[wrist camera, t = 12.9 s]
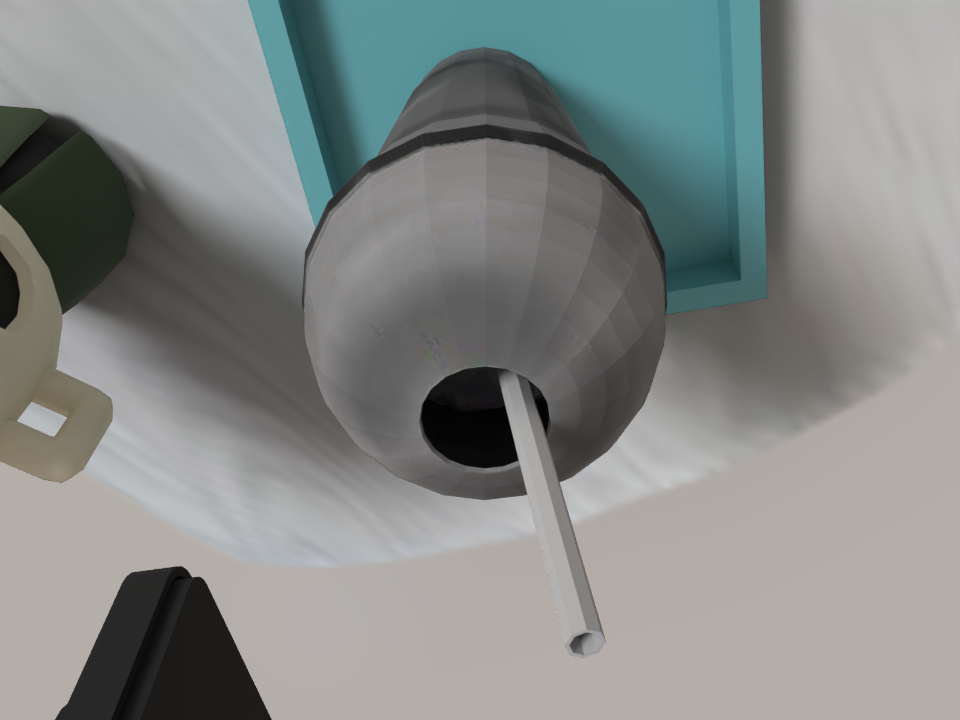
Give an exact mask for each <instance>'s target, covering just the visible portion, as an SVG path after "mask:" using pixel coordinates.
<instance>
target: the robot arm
mask: <svg viewBox="0 0 960 720" xmlns="http://www.w3.org/2000/svg"><path fill="white" fill-rule="evenodd" d="M55 720H271V717H270V715H269V713H268V711H267V709H266V707H265V705H264V703H263V701H262V699H261V697H260V695H259V692H258V690H257V688H256V686H255V684H254V682H253V680H252V678H251V676H250V674H249V672H248V669H247V668H246V665H245V663H244V661H243V659H242V657H241V655H240V653H239V651H238V649H237V646H236V644H235V642H234V640H233V638H232V636H231V634H230V632H229V630H228V628H227V626H226V624H225V621H224V619H223V617H222V615H221V613H220V611H219V609H218V607H217V605H216V603H215V600H214V599H213V596H212V594H211V592H210V590H209V588H208V586H207V584H206V582H205V581H204V579H202V578H201V577H193V578H192V577H191V575H190V574H189V572H188V571H187V570H186V569H185V568H183V567H181V566H179V567H170V568H162V569H155V570H147V571H140V572H132V573H131V574H129V575H128V576H127V577H126V578H125V580H124V582H123V583H122V585H121V587H120V589H119V591H118V594H117V596H116V598H115V600H114V602H113V605H112V607H111V609H110V611H109V614H108V616H107V618H106V620H105V622H104V624H103V627H102V629H101V631H100V633H99V636H98V638H97V640H96V642H95V644H94V647H93V649H92V651H91V654H90V655H89V658H88V660H87V662H86V664H85V667H84V669H83V671H82V673H81V675H80V677H79V680H78V682H77V684H76V686H75V688H74V691H73V693H72V695H71V698H70V700H69V702H68V704H67V705H66V706H65V707H63V708H62V709H61V711H60V712H59V714H58V716H57V717H56V719H55Z"/></svg>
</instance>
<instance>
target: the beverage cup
mask: <svg viewBox="0 0 960 720" xmlns="http://www.w3.org/2000/svg"><path fill="white" fill-rule="evenodd" d="M302 306H303V312H304V315H305V322H304V331H305V340H306V346H307V349H308V352H309V356H310V359H311V362H312V366H313V369H314V372H315V376H316V379H317V382H318V386H319V389H320V391H321V394H322V396H323V398H324V401H325V403H326V404H327V406H328V407H329V409H330V410H331V411H332V413H333V414H334V415H335V417H336V418H337V420H338V421H339V422H340V424H341V425H342V427H343V428H344V429H345V431H346V432H347V433H348V435H349V436H350V438H351V439H352V440H353V441H354V443H355V444H356V445H357V446H358V447H359V448H360V449H361V450H362V451H363V452H365V453H366V454H367V455H369V456H370V457H371V458H373V459H374V460H375V461H377V462H378V463H379V464H381V465H382V466H383V467H385V468H386V469H387V470H389V471H390V472H391V473H393V474H394V475H395V476H397V477H399V478H402V479H404V480H406V481H409V482H411V483H414V484H417V485H419V486H422V487H424V488H427V489H429V490H432V491H434V492H437V493H440V494H442V495H448V496H456V497H464V498H472V499H480V500H489V499H497V498H506V497H515V496H523V495H528V499H529V503H530V507H531V511H532V515H533V519H534V523H535V527H536V531H537V535H538V539H539V543H540V547H541V551H542V555H543V559H544V563H545V568H546V572H547V576H548V580H549V584H550V588H551V592H552V596H553V600H554V604H555V608H556V612H557V616H558V620H559V624H560V628H561V632H562V636H563V640H564V644H565V647H566V648H567V650H568V652H569V654H570V655H571V656H577V657H582V658H585V657H588V656H591V655H594V654H596V653H599V651H600V650H601V649H602V647H603V646H604V644H605V643H606V640H605V637H604V634H603V630H602V627H601V623H600V620H599V617H598V613H597V610H596V606H595V603H594V600H593V596H592V593H591V589H590V586H589V582H588V579H587V575H586V572H585V568H584V565H583V561H582V558H581V555H580V551H579V548H578V545H577V541H576V538H575V534H574V531H573V527H572V524H571V520H570V517H569V513H568V510H567V507H566V503H565V500H564V496H563V493H562V489H561V486H560V483H559V482H562V481H564V480H566V479H569V478H571V477H573V476H574V475H576V474H577V473H578V472H580V471H581V470H582V469H584V468H585V467H587V466H588V465H589V464H591V463H592V462H593V461H595V460H596V459H597V458H599V457H600V456H602V455H603V454H604V453H606V452H607V451H608V450H609V449H610V448H611V447H612V446H613V444H614V443H615V442H616V441H617V440H618V438H619V437H620V436H621V434H622V433H623V432H624V430H625V429H626V428H627V426H628V425H629V424H630V422H631V421H632V419H633V418H634V417H635V415H636V414H637V413H638V411H639V410H640V409H641V407H642V406H643V405H644V403H645V400H646V398H647V395H648V393H649V391H650V387H651V384H652V381H653V378H654V375H655V372H656V368H657V365H658V362H659V359H660V356H661V353H662V349H663V346H664V339H665V315H666V310H667V287H666V267H665V252H664V250H663V248H662V246H661V243H660V241H659V239H658V236H657V234H656V232H655V230H654V227H653V225H652V223H651V220H650V218H649V216H648V214H647V211H646V209H645V207H644V204H643V203H642V202H641V201H640V200H639V199H638V198H637V197H636V196H635V195H634V193H633V192H632V191H631V190H630V189H629V188H628V187H627V186H626V185H625V184H624V183H623V182H622V181H621V180H620V179H619V178H618V177H617V176H616V175H615V174H614V173H613V172H612V171H611V169H610V168H609V167H608V166H607V165H606V164H605V163H604V162H602V161H601V160H599V159H597V158H595V157H593V156H592V155H591V153H590V151H589V149H588V148H587V146H586V144H585V142H584V141H583V139H582V137H581V135H580V134H579V132H578V130H577V128H576V127H575V125H574V123H573V122H572V120H571V118H570V116H569V115H568V113H567V111H566V109H565V108H564V106H563V104H562V102H561V101H560V99H559V97H558V95H557V94H556V92H555V90H554V89H553V88H552V87H551V86H550V85H549V84H548V83H547V82H546V80H545V78H544V77H543V76H542V75H541V74H540V73H539V72H538V71H537V70H536V69H535V68H534V67H533V66H532V65H531V64H530V63H529V62H528V61H526V60H524V59H522V58H520V57H518V56H517V55H515V54H513V53H511V52H509V51H505V50H499V49H493V48H487V47H481V48H475V49H468V50H462V51H459V52H457V53H455V54H453V55H451V56H449V57H447V58H445V59H444V60H442V61H440V62H438V63H437V65H436V66H435V67H434V68H433V69H432V70H431V71H430V72H429V73H428V74H427V75H426V76H425V77H424V78H423V79H422V81H421V83H420V84H419V85H418V86H417V87H416V88H415V89H414V90H413V92H412V94H411V96H410V97H409V99H408V101H407V103H406V105H405V106H404V108H403V110H402V112H401V114H400V115H399V117H398V119H397V121H396V122H395V124H394V126H393V128H392V130H391V131H390V133H389V135H388V137H387V139H386V140H385V142H384V144H383V146H382V147H381V149H380V151H379V153H378V155H377V156H376V157H375V158H373V159H371V160H369V161H368V162H367V163H366V164H365V165H364V166H363V167H362V168H361V169H360V170H359V171H358V172H357V173H356V174H355V175H354V176H353V177H352V178H351V179H350V180H349V181H348V182H347V183H346V184H345V185H344V186H343V187H342V188H341V189H340V190H339V191H338V192H337V193H336V194H335V195H334V196H333V197H332V198H331V199H330V200H329V201H328V203H327V205H326V207H325V209H324V212H323V214H322V216H321V218H320V220H319V222H318V225H317V227H316V229H315V231H314V233H313V236H312V238H311V240H310V242H309V244H308V247H307V249H306V251H305V264H304V279H303V294H302Z"/></svg>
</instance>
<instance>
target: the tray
mask: <svg viewBox="0 0 960 720" xmlns="http://www.w3.org/2000/svg"><path fill="white" fill-rule="evenodd" d="M248 2H249V6H250V9H251V12H252V16H253V19H254V23H255V26H256V29H257V33H258V36H259V39H260V43H261V46H262V50H263V53H264V56H265V60H266V63H267V66H268V70H269V73H270V77H271V80H272V83H273V87H274V90H275V93H276V97H277V100H278V104H279V107H280V110H281V114H282V117H283V120H284V124H285V127H286V131H287V134H288V137H289V141H290V144H291V147H292V151H293V154H294V158H295V161H296V164H297V168H298V171H299V174H300V178H301V181H302V185H303V188H304V191H305V195H306V198H307V201H308V205H309V208H310V212H311V215H312V218H313V222H314V225H315V228H316V227H317V225H318V222H319V220H320V218H321V216H322V214H323V212H324V209H325V207H326V205H327V203H328V201H329V200H330V199H331V198H332V197H333V196H334V195H335V194H336V193H337V192H338V191H339V190H340V189H341V188H342V187H343V186H344V185H345V184H346V183H347V182H348V181H349V180H350V179H351V178H352V177H353V176H354V175H355V174H356V173H357V172H358V171H359V170H360V169H361V168H362V167H363V166H364V165H365V164H366V163H367V162H368V161H369V160H371V159H373V158H375V157H376V156H377V155H378V153H379V151H380V149H381V147H382V146H383V144H384V142H385V140H386V139H387V137H388V135H389V133H390V131H391V130H392V128H393V126H394V124H395V122H396V121H397V119H398V117H399V115H400V114H401V112H402V110H403V108H404V106H405V105H406V103H407V101H408V99H409V97H410V96H411V94H412V92H413V90H414V89H415V88H416V87H417V86H418V85H419V84H420V83H421V81H422V79H423V78H424V77H425V76H426V75H427V74H428V73H429V72H430V71H431V70H432V69H433V68H434V67H435V66H436V65H437V63H438V62H440V61H442V60H444V59H445V58H447V57H449V56H451V55H453V54H455V53H457V52H459V51H462V50H468V49H475V48H481V47H487V48H493V49H499V50H505V51H509V52H511V53H513V54H515V55H517V56H518V57H520V58H522V59H524V60H526V61H528V62H529V63H530V64H531V65H532V66H533V67H534V68H535V69H536V70H537V71H538V72H539V73H540V74H541V75H542V76H543V77H544V78H545V80H546V82H547V83H548V84H549V85H550V86H551V87H552V88H553V89H554V90H555V92H556V94H557V95H558V97H559V99H560V101H561V102H562V104H563V106H564V108H565V109H566V111H567V113H568V115H569V116H570V118H571V120H572V122H573V123H574V125H575V127H576V128H577V130H578V132H579V134H580V135H581V137H582V139H583V141H584V142H585V144H586V146H587V148H588V149H589V151H590V153H591V155H592V156H593V157H595V158H597V159H599V160H601V161H602V162H604V163H605V164H606V165H607V166H608V167H609V168H610V169H611V171H612V172H613V173H614V174H615V175H616V176H617V177H618V178H619V179H620V180H621V181H622V182H623V183H624V184H625V185H626V186H627V187H628V188H629V189H630V190H631V191H632V192H633V193H634V195H635V196H636V197H637V198H638V199H639V200H640V201H641V202H642V203H643V204H644V207H645V209H646V211H647V214H648V216H649V218H650V220H651V223H652V225H653V227H654V230H655V232H656V234H657V236H658V239H659V241H660V243H661V246H662V248H663V250H664V252H665V267H666V287H667V310H666V315H667V314H673V313H679V312H685V311H691V310H697V309H704V308H710V307H716V306H722V305H728V304H735V303H741V302H747V301H753V300H759V299H766V298H767V270H766V231H765V191H764V151H763V111H762V71H761V31H760V0H248Z"/></svg>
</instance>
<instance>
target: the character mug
mask: <svg viewBox="0 0 960 720" xmlns="http://www.w3.org/2000/svg"><path fill="white" fill-rule="evenodd" d="M50 116H51V115H49V114H48V113H46V112H44V111H42V110H41V109H32V108H20V107H7V106H0V461H1V462H3V463H5V464H8V465H10V466H12V467H15V468H18V469H19V470H22V471H24V472H27V473H29V474H31V475H34V476H36V477H38V478H41V479H43V480H48V481H54V482H60V483H63V482H65V481H66V480H68V479H70V478H72V477H73V476H74V475H76V474H77V473H79V472H80V471H82V470H83V469H84V467H85V466H86V464H87V462H88V461H89V459H90V457H91V456H92V454H93V452H94V450H95V449H96V447H97V445H98V444H99V442H100V440H101V439H102V437H103V435H104V434H105V432H106V430H107V429H108V427H109V425H110V423H111V422H112V416H113V406H112V400H111V398H109V397H108V396H107V395H106V394H104V393H103V392H102V391H100V390H99V389H97V388H95V387H93V386H90V385H88V384H86V383H84V382H82V381H80V380H78V379H75V378H73V377H71V376H69V375H67V374H65V373H62V372H60V371H58V370H56V366H57V358H58V351H59V344H60V336H61V329H62V315H63V314H64V313H65V312H67V311H68V310H69V309H71V308H72V307H73V306H75V305H76V304H77V303H79V302H80V301H81V300H82V299H83V298H84V297H85V296H87V295H88V294H89V293H90V292H91V291H92V290H93V289H94V288H95V287H97V286H98V285H99V284H100V283H101V282H102V281H103V280H104V279H105V277H106V276H107V275H108V274H109V273H110V272H111V271H112V269H113V268H114V267H115V266H116V265H117V264H118V262H119V261H120V260H121V259H122V258H123V257H124V256H125V252H126V247H127V242H128V238H129V233H130V228H131V224H132V219H133V211H132V208H131V205H130V202H129V198H128V195H127V192H126V189H125V186H124V183H123V179H122V176H121V173H120V171H119V170H118V169H117V168H116V166H115V165H114V164H113V163H112V162H111V160H110V159H109V158H108V157H107V156H106V154H105V153H104V152H103V151H102V150H101V148H100V147H99V146H98V145H97V143H96V142H95V141H94V140H93V139H92V137H91V136H89V135H87V134H85V133H83V132H81V131H78V132H77V133H76V134H75V135H73V136H72V137H71V138H70V139H69V140H67V141H66V142H65V143H64V144H62V145H61V146H60V147H59V146H58V145H56V144H55V143H54V142H53V141H52V140H50V139H46V138H42V137H38V136H34V135H31V134H33V133H34V132H35V131H36V130H37V129H38V128H39V127H40V126H41V125H42V124H43V123H44V122H45V121H46V120H47V119H48V118H49V117H50ZM31 401H32V402H34V403H36V404H39V405H41V406H43V407H45V408H48V409H50V410H52V411H54V412H56V413H59V414H61V415H63V416H65V417H67V419H66V421H65V422H64V424H63V425H62V427H61V428H60V430H59V431H58V433H57V434H56V436H55V437H52V436H49V435H47V434H44V433H42V432H40V431H38V430H35V429H33V428H31V427H29V426H26V425H24V424H22V423H20V422H17V420H18V419H19V417H20V416H21V415H22V413H23V412H24V411H25V409H26V408H27V407H28V405H29V404H30V403H31Z"/></svg>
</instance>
